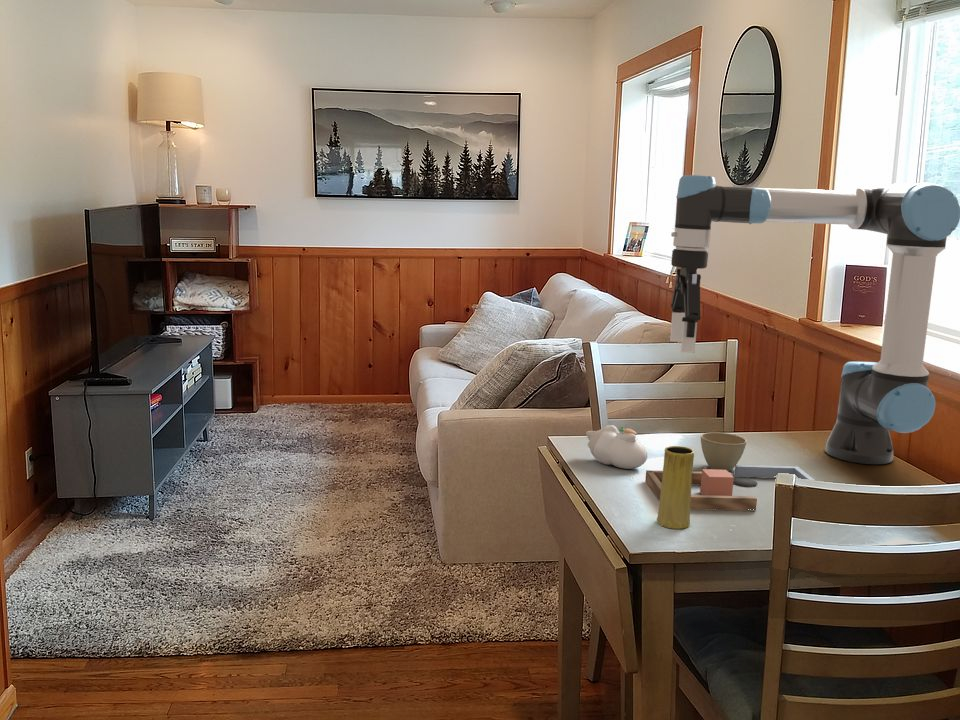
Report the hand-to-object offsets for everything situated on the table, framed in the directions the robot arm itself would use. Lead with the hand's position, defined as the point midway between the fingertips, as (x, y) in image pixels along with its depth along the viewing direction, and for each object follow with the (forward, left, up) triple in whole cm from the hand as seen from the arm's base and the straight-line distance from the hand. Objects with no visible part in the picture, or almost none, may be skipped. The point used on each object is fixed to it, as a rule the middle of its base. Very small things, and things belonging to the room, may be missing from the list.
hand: (681, 346), depth 198 cm
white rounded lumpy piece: (+12, -2, -28) cm, 31 cm away
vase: (+8, +34, -28) cm, 45 cm away
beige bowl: (-12, -1, -28) cm, 30 cm away
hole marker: (-14, +9, -28) cm, 32 cm away
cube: (-5, +18, -28) cm, 33 cm away
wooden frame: (-2, +18, -28) cm, 33 cm away
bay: (-20, +9, -28) cm, 35 cm away
